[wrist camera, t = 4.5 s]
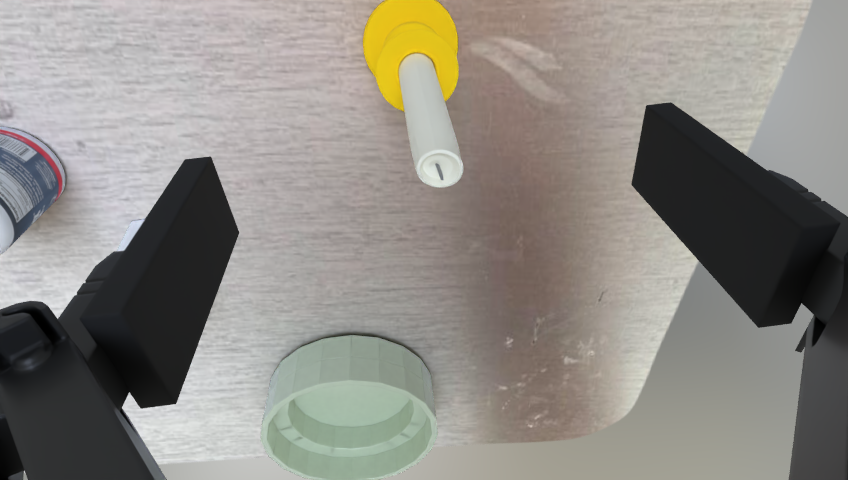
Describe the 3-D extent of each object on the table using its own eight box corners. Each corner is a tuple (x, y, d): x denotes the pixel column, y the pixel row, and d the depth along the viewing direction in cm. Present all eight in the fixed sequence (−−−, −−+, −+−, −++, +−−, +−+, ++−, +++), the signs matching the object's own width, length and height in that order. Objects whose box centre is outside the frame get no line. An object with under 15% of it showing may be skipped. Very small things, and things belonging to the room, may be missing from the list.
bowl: (424, 321, 40) (430, 370, 36) (436, 423, 48) (442, 472, 44) (251, 342, 40) (237, 394, 36) (292, 441, 48) (285, 492, 44)
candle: (420, 107, 30) (456, 272, 17) (345, 56, 28) (321, 200, 15) (476, 31, 27) (564, 156, 15) (397, -31, 25) (423, 53, 13)
